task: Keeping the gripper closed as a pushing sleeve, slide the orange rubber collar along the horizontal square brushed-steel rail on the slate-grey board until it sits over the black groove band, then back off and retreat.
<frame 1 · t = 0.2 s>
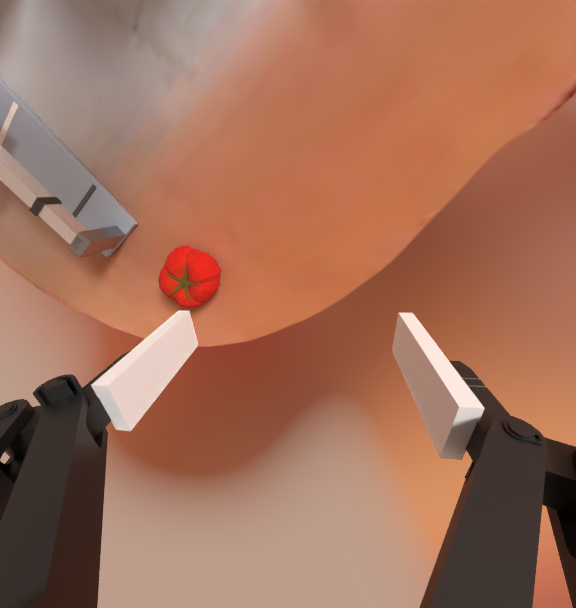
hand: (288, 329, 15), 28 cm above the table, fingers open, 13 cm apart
tomato: (199, 272, 45), on the table
board: (57, 173, 40), on the table
rail: (57, 173, 40), resting on board
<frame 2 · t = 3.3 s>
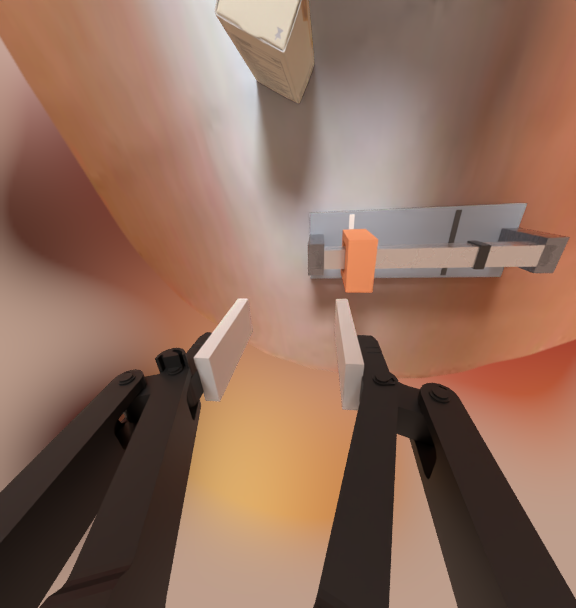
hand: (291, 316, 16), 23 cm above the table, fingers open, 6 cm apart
collar: (356, 258, 29), point 8 cm above the table, slide at 0.0 cm
skincare box: (283, 72, 28), on the table
board: (403, 243, 35), on the table
rail: (403, 243, 35), resting on board
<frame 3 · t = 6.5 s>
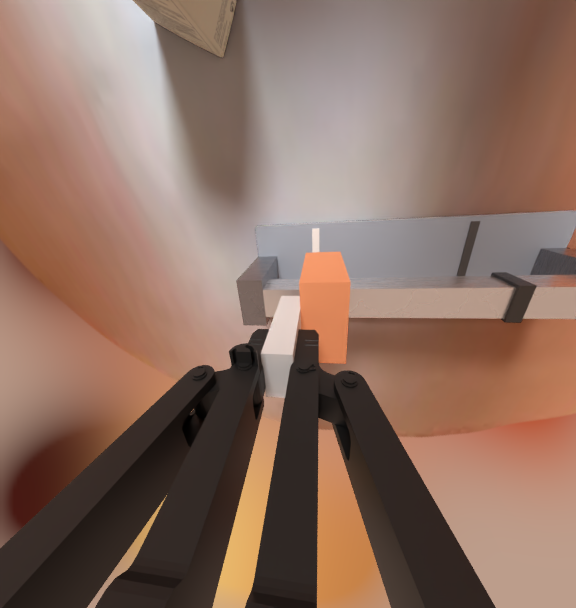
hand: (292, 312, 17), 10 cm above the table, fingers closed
collar: (323, 301, 18), point 8 cm above the table, slide at 0.7 cm, touching gripper
skincare box: (194, 5, 18), on the table
board: (393, 269, 24), on the table
rail: (393, 269, 24), resting on board
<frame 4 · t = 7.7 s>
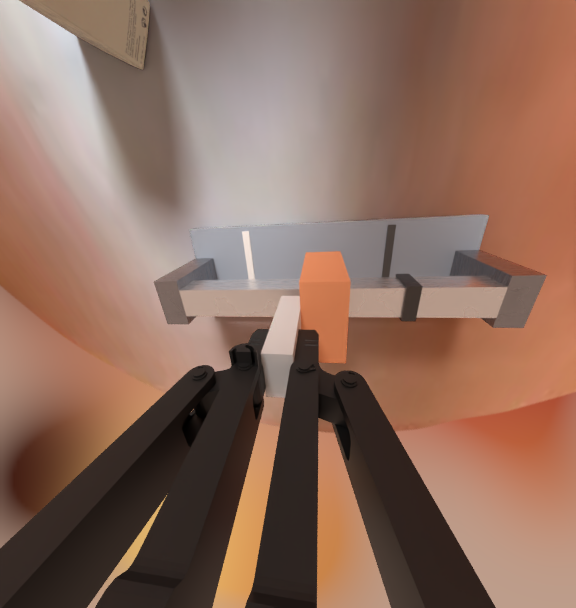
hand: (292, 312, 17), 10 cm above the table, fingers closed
collar: (323, 300, 18), point 8 cm above the table, slide at 7.7 cm, touching gripper
skincare box: (112, 21, 19), on the table
board: (325, 270, 25), on the table
rail: (325, 270, 25), resting on board
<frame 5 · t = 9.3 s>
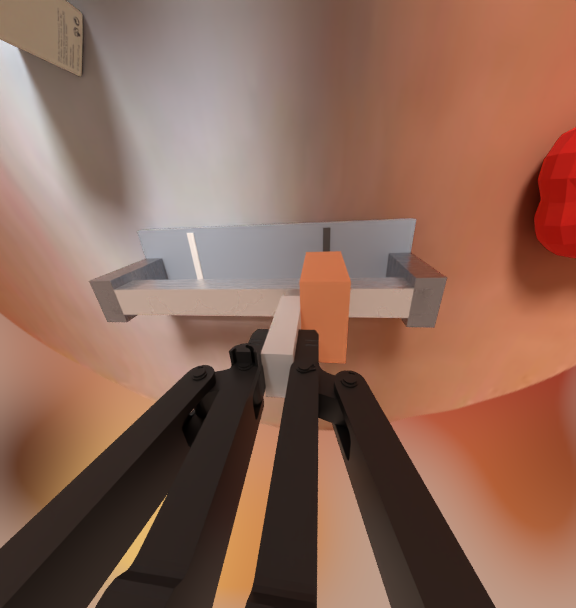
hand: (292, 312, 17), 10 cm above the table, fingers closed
collar: (323, 300, 18), point 8 cm above the table, slide at 13.6 cm, touching gripper
skincare box: (49, 29, 19), on the table
board: (271, 271, 26), on the table
rail: (271, 271, 26), resting on board
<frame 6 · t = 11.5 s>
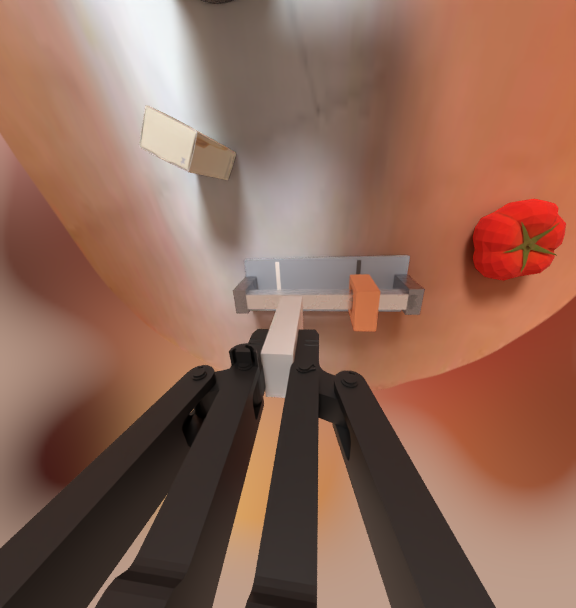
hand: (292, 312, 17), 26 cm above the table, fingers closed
collar: (361, 301, 35), point 8 cm above the table, slide at 13.7 cm
tomato: (497, 237, 36), on the table
skincare box: (214, 157, 37), on the table
board: (322, 284, 43), on the table
rail: (322, 284, 43), resting on board
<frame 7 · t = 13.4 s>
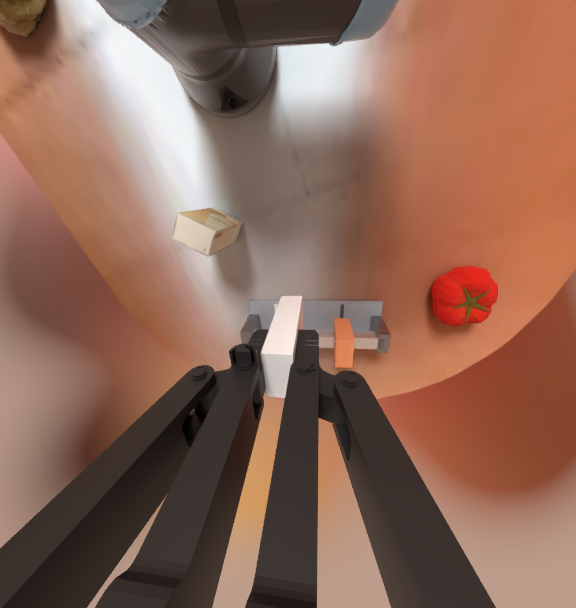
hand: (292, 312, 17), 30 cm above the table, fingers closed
collar: (342, 341, 44), point 8 cm above the table, slide at 13.7 cm
tomato: (452, 289, 45), on the table
skincare box: (224, 224, 45), on the table
board: (313, 320, 52), on the table
rail: (313, 320, 52), resting on board
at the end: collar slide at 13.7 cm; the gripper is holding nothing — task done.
